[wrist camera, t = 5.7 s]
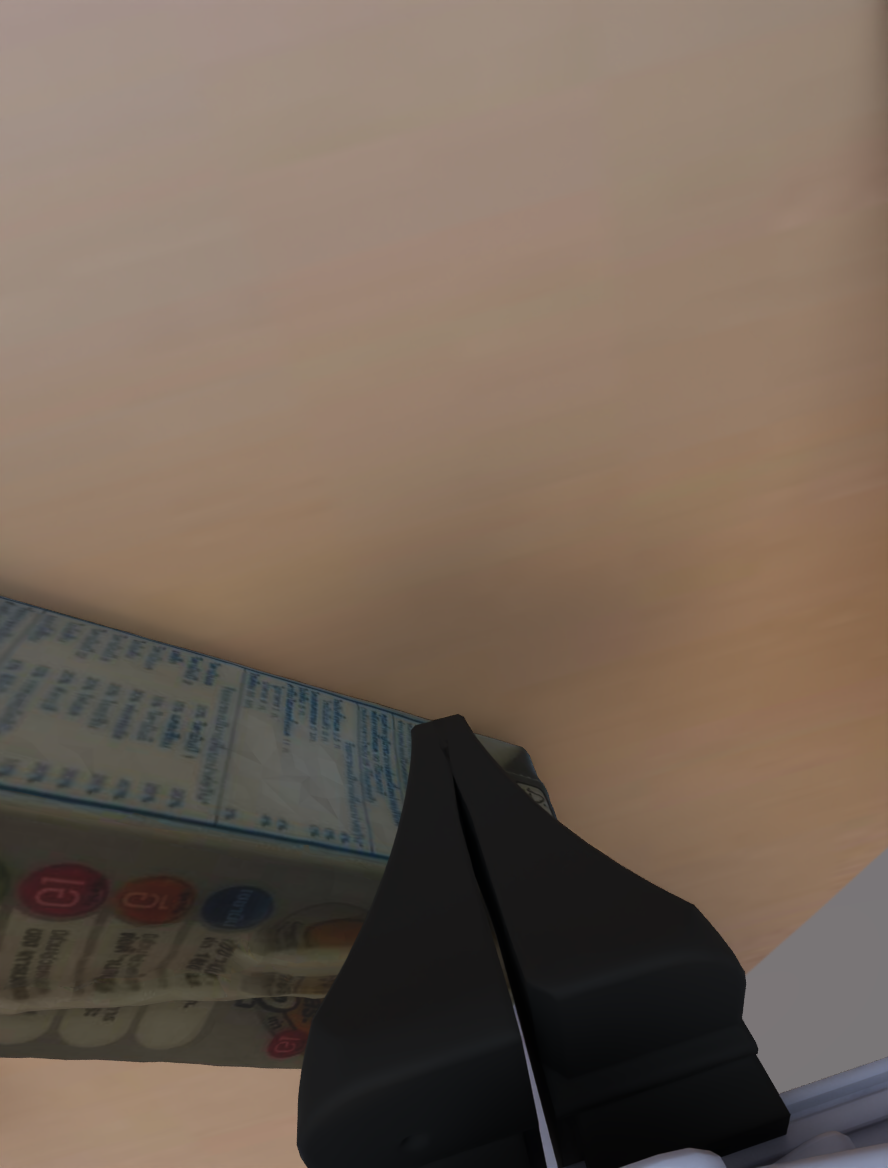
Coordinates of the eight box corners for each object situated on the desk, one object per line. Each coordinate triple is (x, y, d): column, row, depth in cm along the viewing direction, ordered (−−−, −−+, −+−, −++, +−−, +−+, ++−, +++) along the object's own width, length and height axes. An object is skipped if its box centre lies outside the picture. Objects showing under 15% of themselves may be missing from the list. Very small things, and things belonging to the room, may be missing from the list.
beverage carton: (425, 902, 22) (463, 1124, 16) (-233, 786, 15) (-588, 1092, 9) (532, 739, 19) (624, 930, 13) (-200, 516, 13) (-653, 699, 7)
